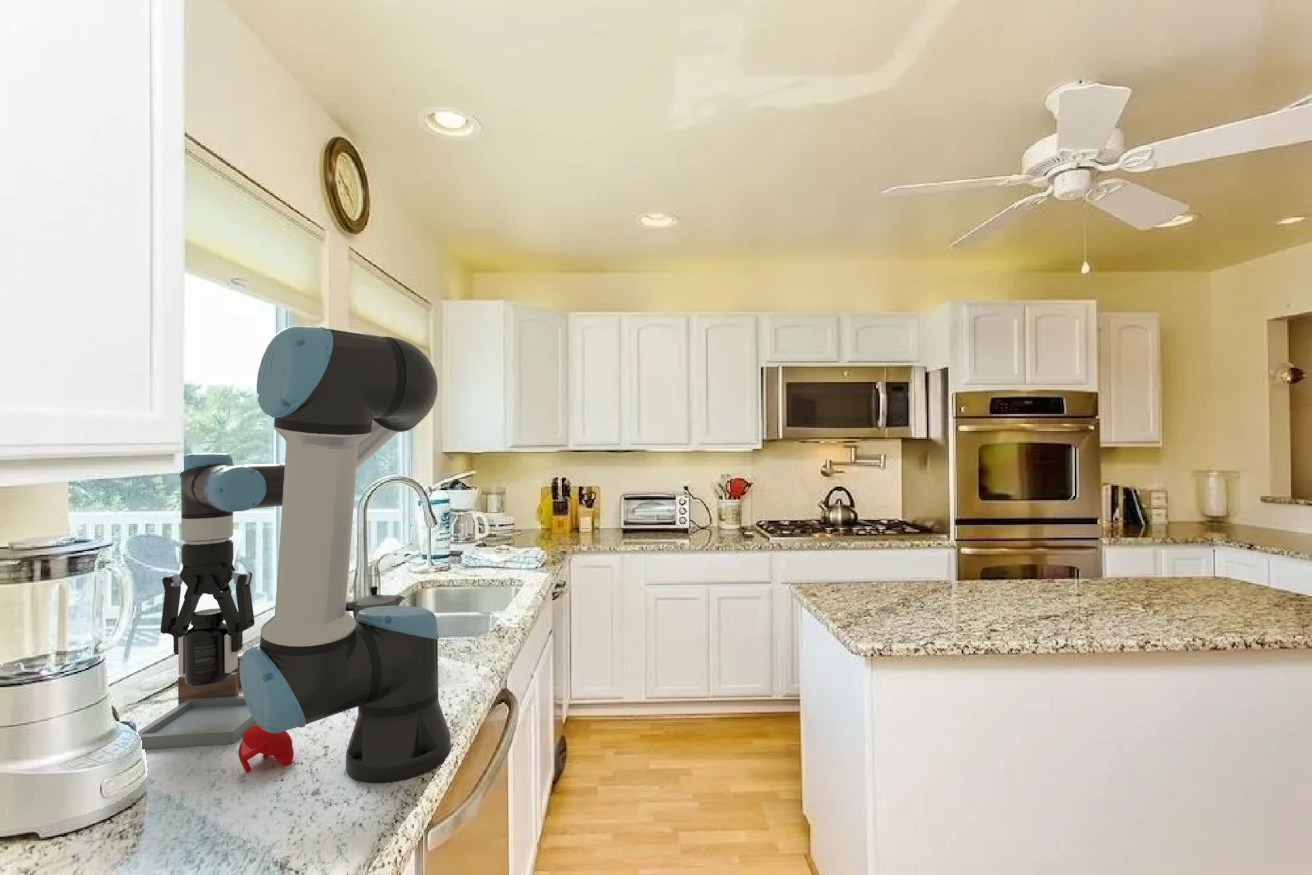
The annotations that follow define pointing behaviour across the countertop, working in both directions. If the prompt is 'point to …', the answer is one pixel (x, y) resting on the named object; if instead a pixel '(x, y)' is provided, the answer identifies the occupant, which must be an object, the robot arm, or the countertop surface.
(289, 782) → the countertop surface
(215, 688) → the brown wooden block
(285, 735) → the cap
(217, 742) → the tray
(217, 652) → the supplement bottle
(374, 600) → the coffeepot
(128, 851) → the countertop surface
